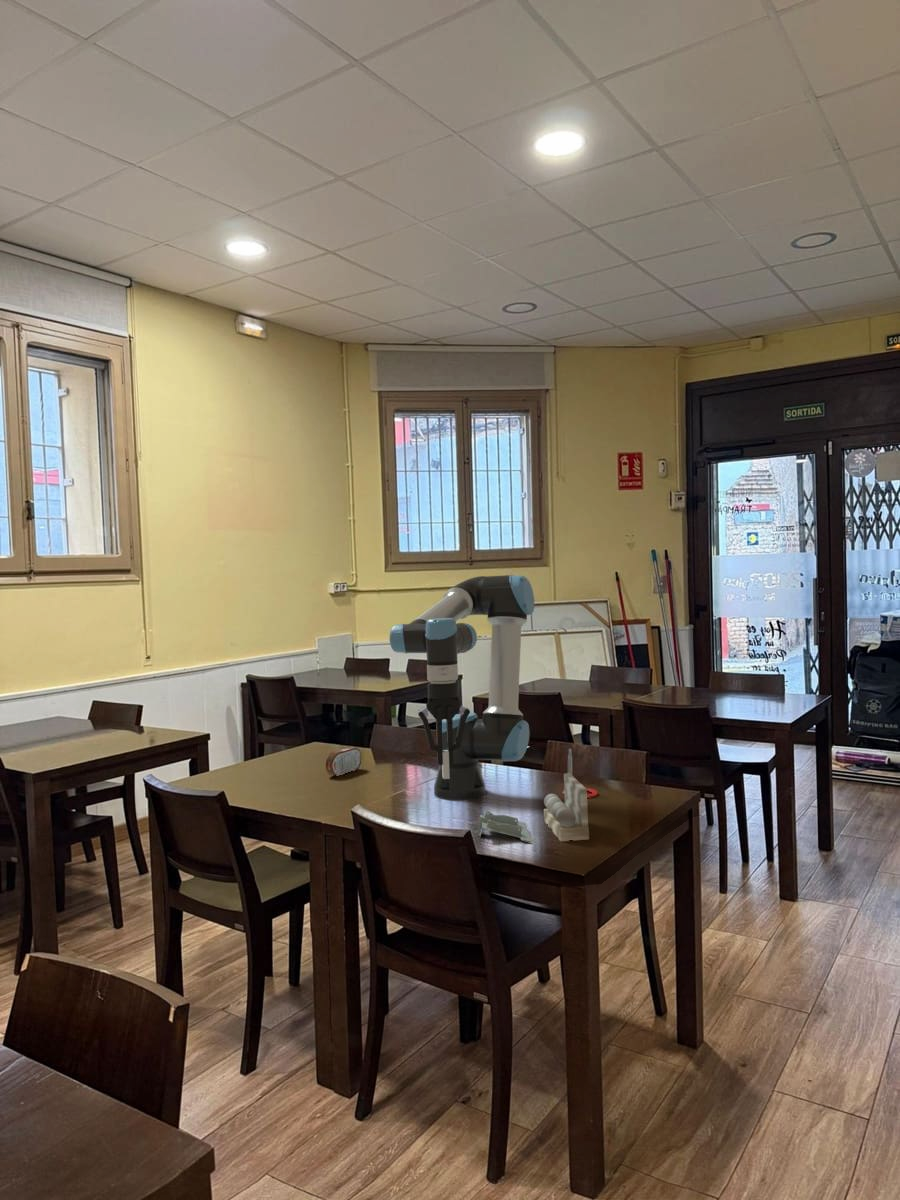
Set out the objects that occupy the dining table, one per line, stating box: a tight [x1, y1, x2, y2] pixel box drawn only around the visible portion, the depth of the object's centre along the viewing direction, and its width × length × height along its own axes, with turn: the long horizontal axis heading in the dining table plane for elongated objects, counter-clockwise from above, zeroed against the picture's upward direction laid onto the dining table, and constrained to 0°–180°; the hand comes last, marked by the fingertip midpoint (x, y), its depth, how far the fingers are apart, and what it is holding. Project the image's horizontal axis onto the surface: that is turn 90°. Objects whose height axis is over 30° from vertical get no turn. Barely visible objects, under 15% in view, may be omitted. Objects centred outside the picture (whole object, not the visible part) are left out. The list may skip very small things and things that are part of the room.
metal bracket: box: [474, 810, 534, 843], centre depth 203 cm, size 14×6×15 cm
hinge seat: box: [543, 772, 590, 842], centre depth 205 cm, size 17×7×12 cm, turn 7°
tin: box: [325, 745, 362, 777], centre depth 271 cm, size 15×3×8 cm, turn 144°
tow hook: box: [561, 748, 598, 797], centre depth 236 cm, size 8×13×9 cm
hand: (445, 777), depth 201 cm, fingers closed
